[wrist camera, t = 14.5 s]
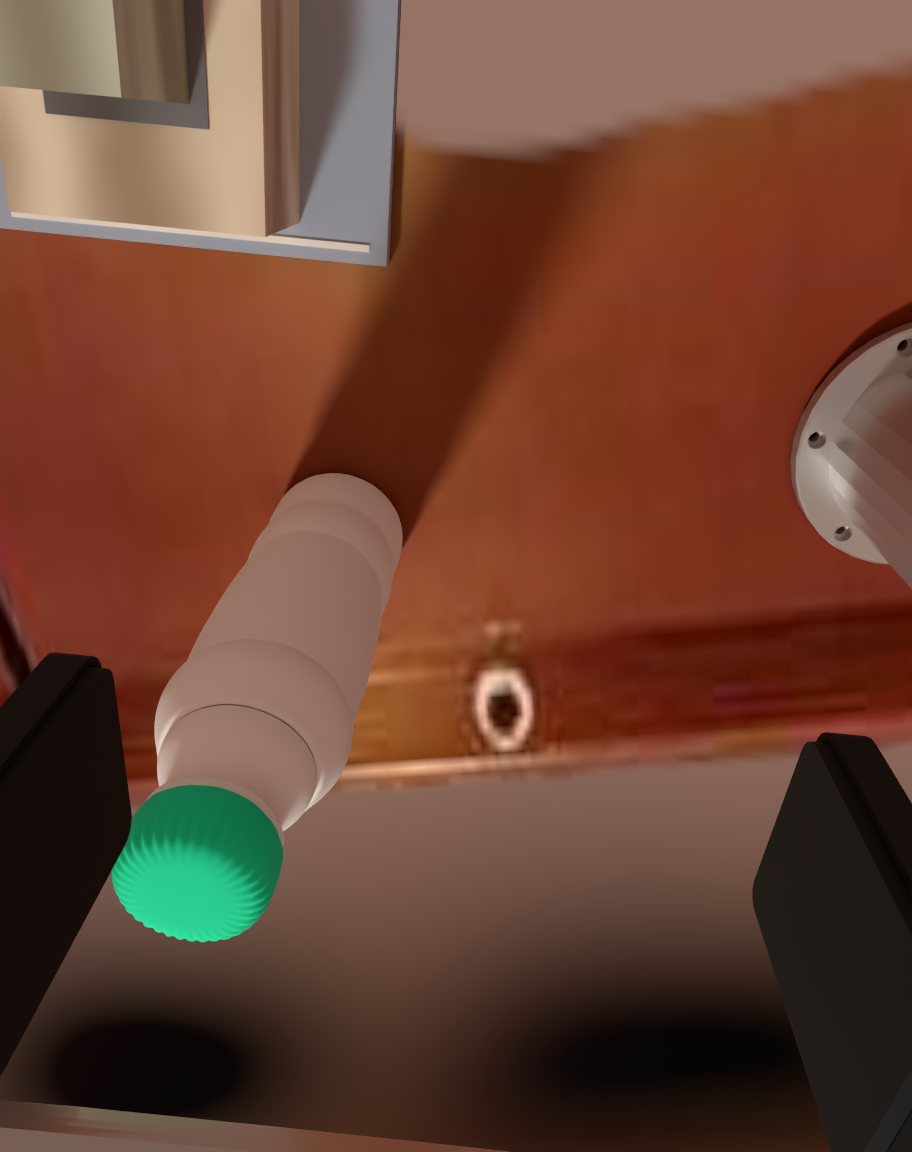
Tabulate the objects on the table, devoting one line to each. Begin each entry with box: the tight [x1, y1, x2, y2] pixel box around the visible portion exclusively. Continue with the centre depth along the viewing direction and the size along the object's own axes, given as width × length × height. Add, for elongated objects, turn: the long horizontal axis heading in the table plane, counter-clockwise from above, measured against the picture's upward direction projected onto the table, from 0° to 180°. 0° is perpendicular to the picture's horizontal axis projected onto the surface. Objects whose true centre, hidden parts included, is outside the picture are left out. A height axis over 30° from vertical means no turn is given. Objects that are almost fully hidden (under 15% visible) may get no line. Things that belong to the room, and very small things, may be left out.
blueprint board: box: [0, 0, 401, 267], centre depth 35 cm, size 18×16×1 cm
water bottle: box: [112, 473, 403, 942], centre depth 34 cm, size 7×7×25 cm
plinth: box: [0, 0, 300, 237], centre depth 32 cm, size 10×13×6 cm
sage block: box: [0, 0, 189, 104], centre depth 26 cm, size 5×5×6 cm
